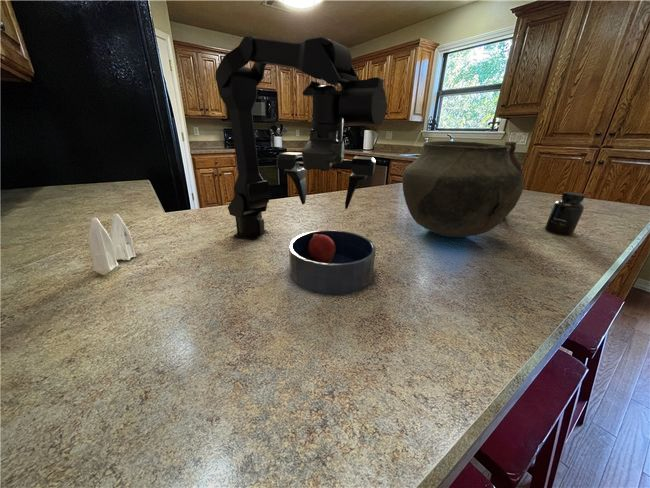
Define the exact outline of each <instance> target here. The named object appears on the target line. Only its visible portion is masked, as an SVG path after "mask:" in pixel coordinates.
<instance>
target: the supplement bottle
mask: <svg viewBox="0 0 650 488" xmlns="http://www.w3.org/2000/svg"><path fill="white" fill-rule="evenodd" d="M585 197H586V194H584V193H580V192H574V191H564V192H562V195H561V197H560V200H556V201H555V202H554V204H553V206H552V209H551V210H550V211H551V212H550V214H549V216H548V219H547V221H546V224H545V227H544V230H545V231H547V232H549V233H551V234H554V235H558V236H565V237H566V236H572V235H573V234H574V233H575V230H576V229H577V226H578V223H579V221H580V220H581V218H582V215H583V212H584V210H585V206H584V204H583V203H582V202H584V199H585Z"/></svg>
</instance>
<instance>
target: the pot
mask: <svg viewBox="0 0 650 488" xmlns="http://www.w3.org/2000/svg"><path fill="white" fill-rule="evenodd" d="M510 149H511V146H506V145H505V144H496V143H483V142H477V141H476V142H475V141H459V140H458V141H456V140H436V141H435V140H433V141H425V142H424V143H423V147H422V151H421V152H420V155H419V156H418V157H417V158H416V159H415V160H414V161H413V162H412V163H410V164H409V165H408V166H406V167H405V169H404V170H403V172H402V177H401V179H402V184H401V185H402V193H403V197H404V201H405V204H406V207H407V209H408V212H409V214H410V216H411V218H412V219H413V220H414V221H415V223H416V224H417V225H419V226H420V227H422V228H424V229H426V230H428V231H430V232H432V233H434V234H437V235H439V236H443V237H448V238H449V237H450V238H467V237H475V236H478V235H482V234H485V233H487V232H489V231H492V230H493V229H495V228H496V227H498V226H499V225H500V224H501V223H502V222H503V221H505V220H506V219H507V217H508V216H509V214H510V213H511V212H512V211H513V209H514V208H515V207H516V206H517V204H518V202H519V200H520V198H521V196H522V194H523V190H524V185H525V184H524V174H523V173H521V172H520V171H519V170H518V169H517V168H516V167H515V166H514V165H513V163H512V161H511V160H510V154H509V151H510ZM505 218H506V219H505ZM504 219H505V220H504Z"/></svg>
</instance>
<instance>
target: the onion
mask: <svg viewBox="0 0 650 488" xmlns="http://www.w3.org/2000/svg"><path fill="white" fill-rule="evenodd" d="M308 249H309V253H310V255H311V257H312V258H313V259H314V260H315V261H317V262H320V263H330V262H331V261H332V258H333V256H334V254H335V252H336V248H335V244H334V242H333V240H332V239H331V238H329V237H328V236H326V235H322V234H320V235H318V234H314V235H313V237H312V239H311V240H310V242H309V247H308Z"/></svg>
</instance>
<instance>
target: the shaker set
mask: <svg viewBox="0 0 650 488" xmlns="http://www.w3.org/2000/svg"><path fill="white" fill-rule="evenodd" d="M87 243H88V247H89V248H88V249H89V252H90V256H91V262H92V270H93V271H94V272H95V273H98V274H100V275H102V276H105V275H106V274H109V273H110V272H111V271H112V270H113V269H115V268H117V267H118V266H119V263H118V261H119V260H123V261H124V262H125V261H127V260H128V261H129V260H131V258H135V257H136V253H135V252H136V250H135V249H134V242H133V239H132V234H131V232H130V230H129V228H128V227H127V225H126V224H125V222H124V220H123V219H122V217H120V215H119V214H118V213H114V214H113V215H112V220H111V225H110V231H109V233H108V232H107V230H106V229H105V227H104V226H103V224H102V223H101V221H100V220H99V219H98V217H92V218H91V220H90V226H89V233H88V239H87Z"/></svg>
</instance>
